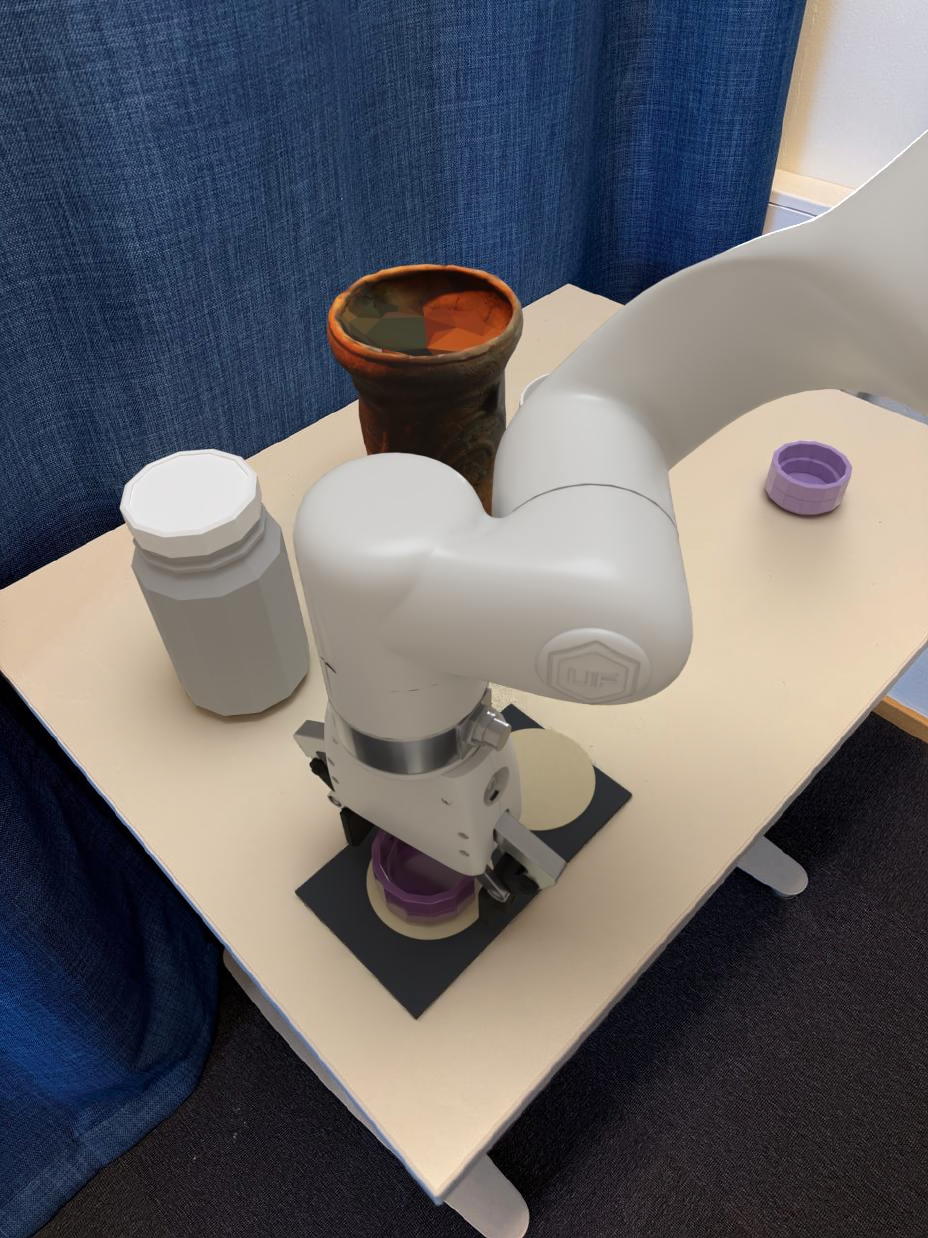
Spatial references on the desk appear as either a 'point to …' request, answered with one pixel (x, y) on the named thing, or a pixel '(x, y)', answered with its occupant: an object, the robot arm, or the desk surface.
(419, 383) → the vessel
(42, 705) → the desk surface
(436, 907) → the plum dish
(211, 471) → the jar
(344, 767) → the robot arm
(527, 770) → the mat
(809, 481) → the lilac dish
